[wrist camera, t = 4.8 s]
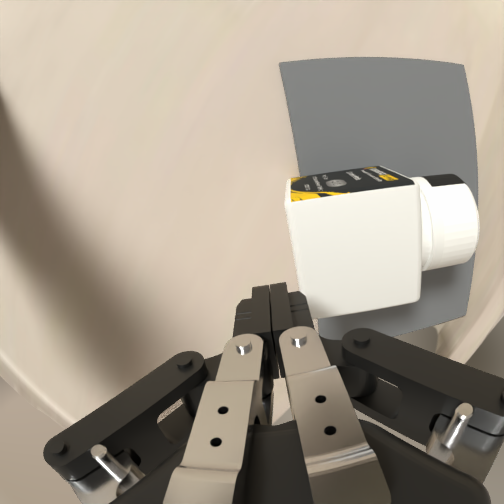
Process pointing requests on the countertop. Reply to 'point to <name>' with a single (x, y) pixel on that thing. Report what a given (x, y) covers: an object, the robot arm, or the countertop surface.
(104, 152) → the countertop surface
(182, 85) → the countertop surface
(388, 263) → the medicine bottle
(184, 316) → the countertop surface
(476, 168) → the rubber mat
